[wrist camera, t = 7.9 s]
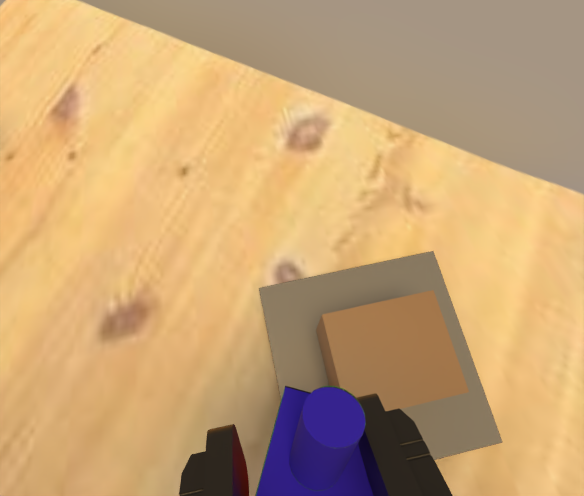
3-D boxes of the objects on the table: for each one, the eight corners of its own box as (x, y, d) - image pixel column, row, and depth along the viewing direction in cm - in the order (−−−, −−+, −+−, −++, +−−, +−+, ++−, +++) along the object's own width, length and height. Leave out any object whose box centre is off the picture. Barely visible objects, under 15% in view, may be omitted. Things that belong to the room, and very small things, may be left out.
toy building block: (357, 475, 16) (424, 367, 11) (344, 613, 13) (428, 556, 8) (271, 450, 16) (295, 333, 11) (238, 579, 13) (249, 501, 8)
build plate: (299, 490, 27) (302, 521, 20) (259, 291, 32) (251, 264, 25) (495, 440, 28) (558, 455, 21) (429, 255, 33) (464, 220, 26)
